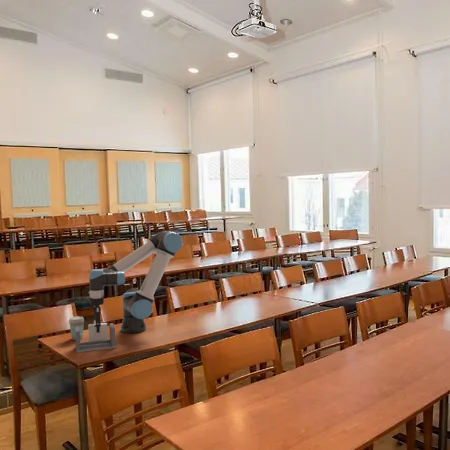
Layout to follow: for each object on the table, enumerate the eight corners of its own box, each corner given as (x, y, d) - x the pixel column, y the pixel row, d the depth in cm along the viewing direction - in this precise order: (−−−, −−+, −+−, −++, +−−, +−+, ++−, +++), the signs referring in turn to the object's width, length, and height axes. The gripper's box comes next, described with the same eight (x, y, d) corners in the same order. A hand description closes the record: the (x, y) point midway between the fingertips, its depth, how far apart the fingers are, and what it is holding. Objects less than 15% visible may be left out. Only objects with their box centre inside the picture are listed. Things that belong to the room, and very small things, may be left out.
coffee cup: (80, 341, 272) (79, 320, 271) (66, 340, 274) (65, 319, 273) (87, 336, 281) (86, 316, 280) (74, 335, 282) (73, 315, 281)
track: (113, 342, 268) (113, 323, 267) (115, 348, 259) (114, 327, 258) (76, 346, 262) (75, 326, 261) (76, 352, 252) (75, 331, 252)
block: (107, 340, 273) (106, 322, 273) (107, 341, 270) (107, 324, 270) (88, 342, 270) (88, 324, 269) (89, 343, 267) (88, 325, 267)
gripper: (88, 293, 279) (89, 329, 280) (90, 302, 256) (91, 341, 257) (101, 292, 282) (102, 328, 283) (105, 301, 258) (106, 340, 259)
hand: (97, 334), depth 270 cm, fingers open, 13 cm apart
